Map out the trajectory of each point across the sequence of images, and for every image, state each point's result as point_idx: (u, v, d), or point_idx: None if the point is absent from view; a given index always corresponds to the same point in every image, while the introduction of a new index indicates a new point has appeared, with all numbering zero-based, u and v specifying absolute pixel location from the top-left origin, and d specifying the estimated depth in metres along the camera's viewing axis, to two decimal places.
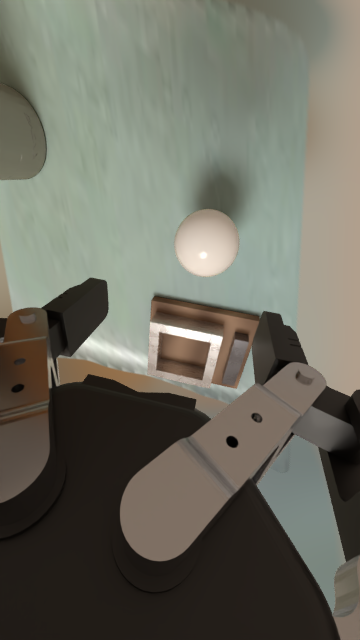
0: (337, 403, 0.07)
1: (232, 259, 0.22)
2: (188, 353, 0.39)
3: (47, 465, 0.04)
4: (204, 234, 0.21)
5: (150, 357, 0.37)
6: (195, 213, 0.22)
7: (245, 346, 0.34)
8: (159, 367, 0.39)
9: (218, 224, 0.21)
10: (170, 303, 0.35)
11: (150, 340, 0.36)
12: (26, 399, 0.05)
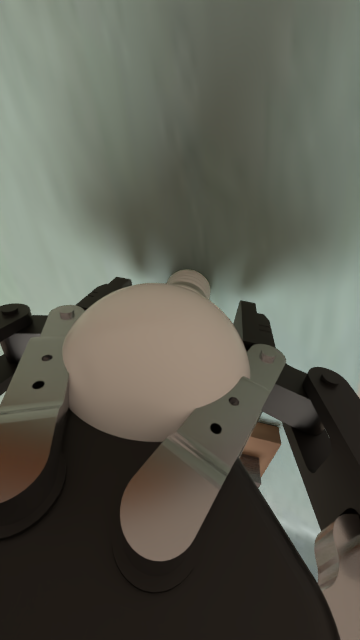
0: (296, 380, 0.08)
1: None
2: None
3: (42, 474, 0.04)
4: (117, 413, 0.05)
5: None
6: (104, 309, 0.06)
7: None
8: None
9: (176, 374, 0.05)
10: None
11: None
12: (43, 398, 0.05)
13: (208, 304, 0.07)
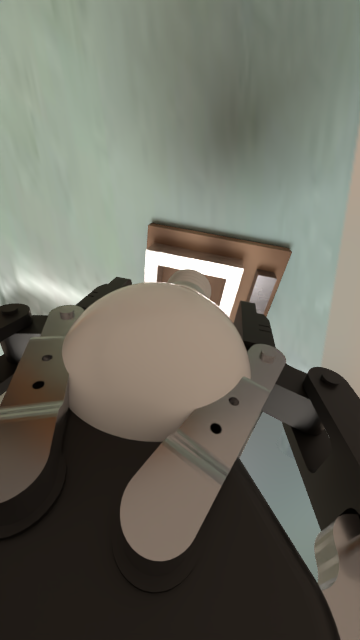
0: (296, 380, 0.08)
1: None
2: None
3: (42, 474, 0.04)
4: (117, 412, 0.05)
5: None
6: (104, 308, 0.06)
7: (271, 285, 0.26)
8: None
9: (176, 372, 0.05)
10: (173, 229, 0.27)
11: (146, 278, 0.27)
12: (43, 397, 0.05)
13: (208, 303, 0.07)
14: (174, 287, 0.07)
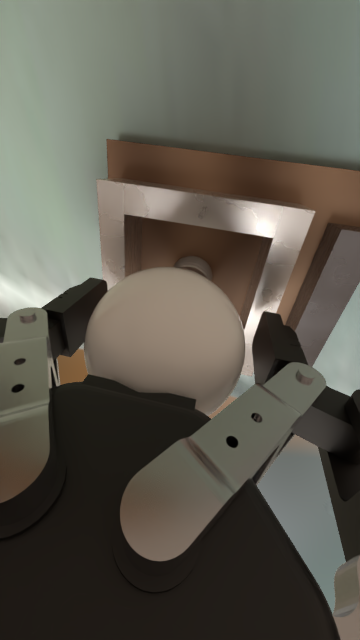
0: (337, 403, 0.07)
1: None
2: None
3: (47, 465, 0.04)
4: (140, 364, 0.07)
5: None
6: (125, 288, 0.08)
7: None
8: None
9: (184, 334, 0.07)
10: (157, 145, 0.13)
11: (104, 246, 0.13)
12: (26, 399, 0.05)
13: (209, 283, 0.09)
14: (181, 270, 0.09)
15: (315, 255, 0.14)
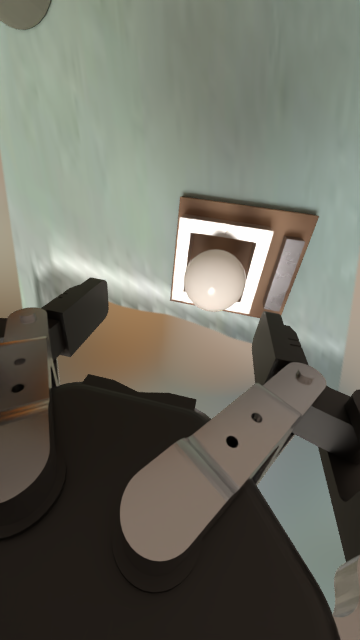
0: (337, 403, 0.07)
1: (239, 296, 0.24)
2: None
3: (47, 465, 0.04)
4: (213, 275, 0.22)
5: (177, 273, 0.30)
6: (204, 254, 0.23)
7: (300, 248, 0.27)
8: None
9: (226, 266, 0.22)
10: (204, 200, 0.28)
11: (178, 246, 0.29)
12: (26, 399, 0.05)
13: (232, 254, 0.24)
14: (222, 250, 0.24)
15: (279, 251, 0.29)
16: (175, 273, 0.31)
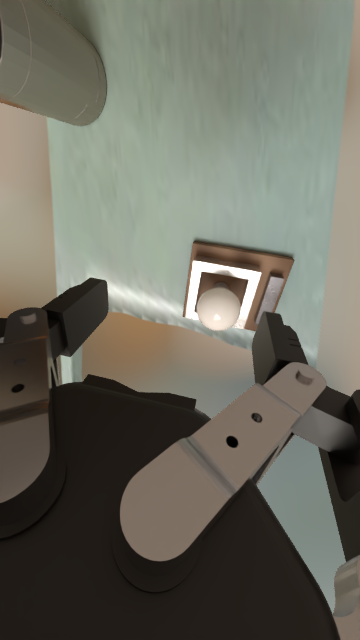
0: (337, 403, 0.07)
1: (236, 321, 0.34)
2: None
3: (47, 465, 0.04)
4: (217, 308, 0.32)
5: (189, 298, 0.41)
6: (211, 292, 0.33)
7: (280, 283, 0.37)
8: (196, 310, 0.42)
9: (227, 302, 0.32)
10: (211, 246, 0.38)
11: (191, 280, 0.39)
12: (26, 398, 0.05)
13: (231, 291, 0.34)
14: (224, 288, 0.34)
15: (266, 283, 0.39)
16: (188, 299, 0.41)
